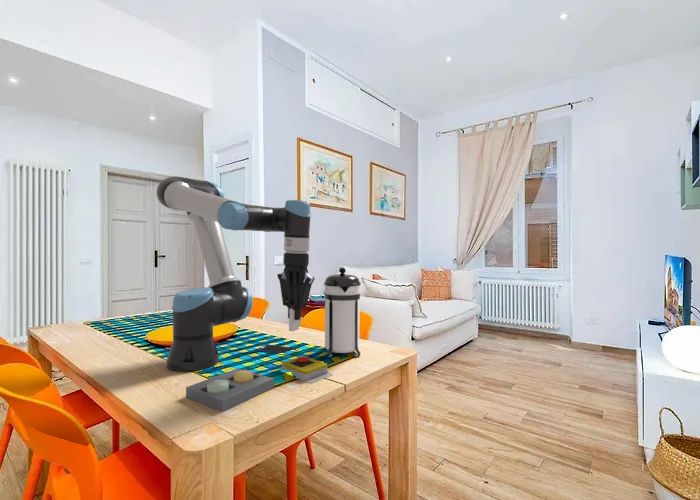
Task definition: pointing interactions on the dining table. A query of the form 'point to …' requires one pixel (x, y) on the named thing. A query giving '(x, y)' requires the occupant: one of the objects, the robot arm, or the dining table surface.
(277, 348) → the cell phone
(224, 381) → the sage button
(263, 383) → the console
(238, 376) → the tan button
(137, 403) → the dining table surface
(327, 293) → the coffee press
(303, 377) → the emergency button
